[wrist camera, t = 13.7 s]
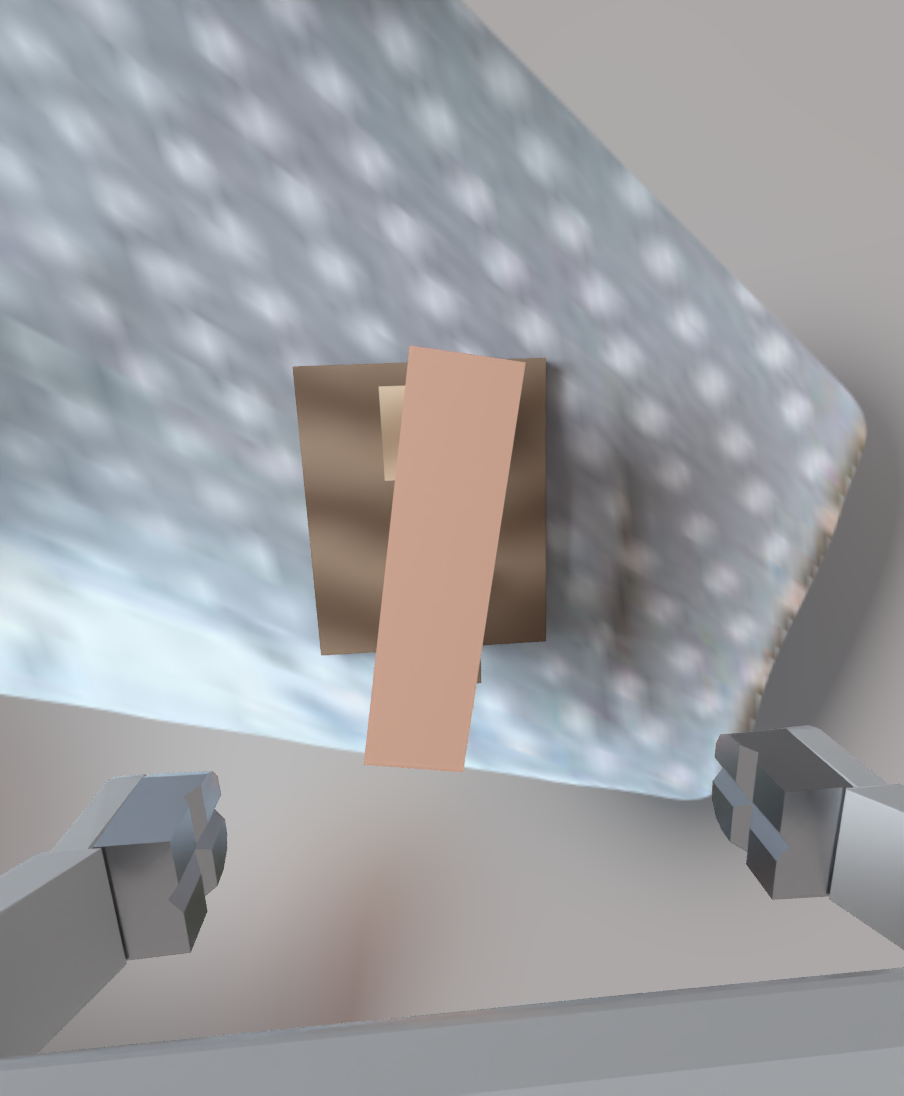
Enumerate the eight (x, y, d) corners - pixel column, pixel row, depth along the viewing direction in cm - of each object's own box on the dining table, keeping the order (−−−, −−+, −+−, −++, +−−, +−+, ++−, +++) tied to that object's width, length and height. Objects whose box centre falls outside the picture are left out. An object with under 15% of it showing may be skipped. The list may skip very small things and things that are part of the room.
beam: (409, 357, 24) (409, 345, 20) (503, 371, 25) (525, 362, 20) (372, 703, 28) (363, 764, 23) (454, 709, 28) (462, 772, 24)
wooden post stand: (297, 368, 33) (254, 353, 24) (540, 360, 34) (588, 342, 25) (324, 645, 37) (296, 724, 28) (540, 632, 38) (582, 703, 29)
